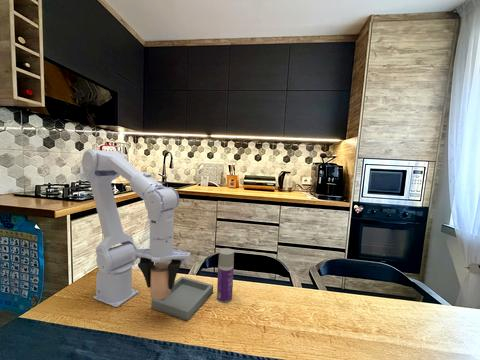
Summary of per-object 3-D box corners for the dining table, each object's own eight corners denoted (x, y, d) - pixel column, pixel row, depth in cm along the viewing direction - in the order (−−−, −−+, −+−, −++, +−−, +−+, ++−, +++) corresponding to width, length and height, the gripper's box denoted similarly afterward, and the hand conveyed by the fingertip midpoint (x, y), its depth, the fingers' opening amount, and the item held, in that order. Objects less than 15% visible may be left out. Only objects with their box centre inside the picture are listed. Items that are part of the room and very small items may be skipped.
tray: (151, 308, 63) (151, 299, 63) (181, 283, 76) (181, 276, 76) (187, 321, 59) (187, 312, 58) (213, 292, 72) (213, 285, 71)
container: (229, 304, 66) (232, 255, 65) (214, 301, 67) (216, 253, 66) (233, 294, 71) (235, 249, 69) (219, 292, 72) (221, 247, 70)
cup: (146, 298, 56) (146, 271, 55) (155, 287, 61) (155, 262, 60) (166, 300, 56) (166, 273, 55) (173, 288, 61) (173, 263, 60)
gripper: (125, 239, 53) (125, 293, 55) (185, 243, 53) (184, 297, 54) (139, 230, 60) (139, 278, 62) (192, 233, 60) (191, 281, 61)
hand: (160, 286), depth 58 cm, fingers closed on cup, 5 cm apart
